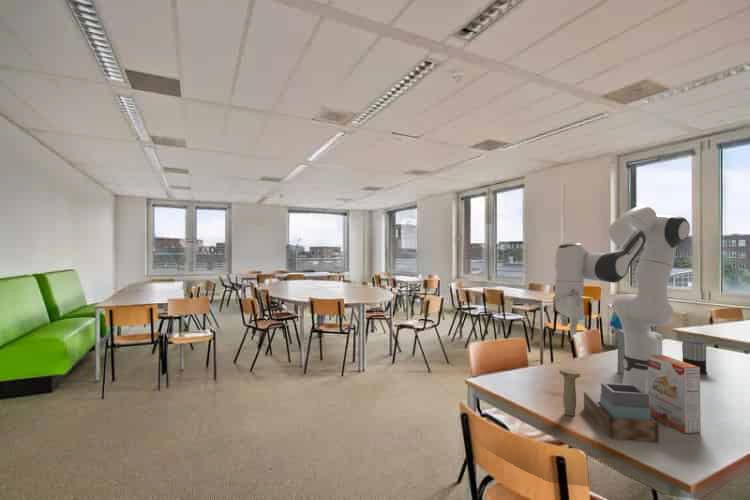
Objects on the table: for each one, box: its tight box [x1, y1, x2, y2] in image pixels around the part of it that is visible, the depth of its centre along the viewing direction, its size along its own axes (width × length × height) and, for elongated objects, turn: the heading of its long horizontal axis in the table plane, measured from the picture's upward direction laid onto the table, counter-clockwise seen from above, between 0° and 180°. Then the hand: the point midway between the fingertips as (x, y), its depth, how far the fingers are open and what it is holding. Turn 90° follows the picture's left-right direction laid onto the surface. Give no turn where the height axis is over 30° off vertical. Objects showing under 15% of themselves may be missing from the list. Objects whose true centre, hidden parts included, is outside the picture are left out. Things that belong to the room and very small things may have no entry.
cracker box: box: [648, 354, 702, 435], centre depth 122 cm, size 14×6×21 cm, turn 5°
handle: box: [559, 368, 581, 417], centre depth 129 cm, size 5×6×15 cm
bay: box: [583, 391, 660, 444], centre depth 122 cm, size 13×22×6 cm, turn 169°
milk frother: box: [681, 337, 708, 375], centre depth 179 cm, size 14×16×15 cm
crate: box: [599, 382, 651, 421], centre depth 117 cm, size 10×10×12 cm
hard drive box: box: [617, 329, 663, 376], centre depth 171 cm, size 16×8×20 cm, turn 76°
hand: (568, 328), depth 130 cm, fingers open, 8 cm apart
